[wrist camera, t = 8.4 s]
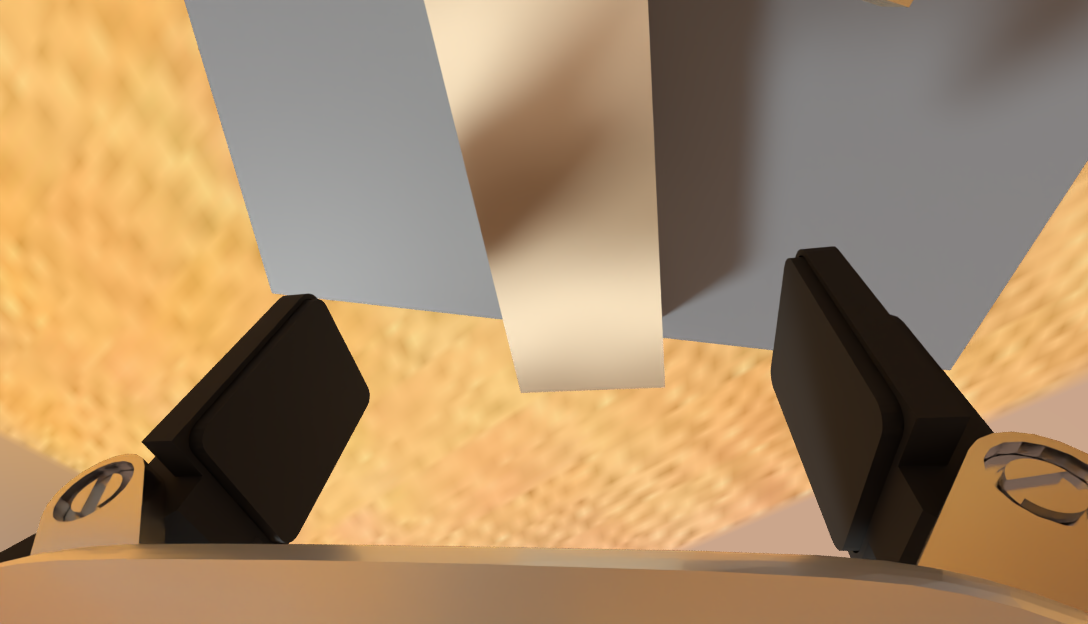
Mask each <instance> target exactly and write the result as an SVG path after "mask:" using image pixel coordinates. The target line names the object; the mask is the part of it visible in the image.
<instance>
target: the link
mask: <svg viewBox="0 0 1088 624" xmlns="http://www.w3.org/2000/svg"><path fill="white" fill-rule="evenodd" d="M424 3H425V7H426V11H427V15H428V19H429V23H430V27H431V31H432V35H433V39H434V43H435V47H436V51H437V56H438V60H439V64H440V68H441V72H442V76H443V80H444V84H445V88H446V92H447V96H448V100H449V104H450V108H451V112H452V116H453V120H454V124H455V128H456V132H457V136H458V140H459V144H460V148H461V152H462V157H463V161H464V165H465V169H466V173H467V177H468V181H469V185H470V189H471V193H472V197H473V201H474V205H475V209H476V213H477V217H478V221H479V225H480V229H481V233H482V237H483V241H484V245H485V249H486V253H487V258H488V262H489V266H490V270H491V274H492V278H493V282H494V286H495V290H496V294H497V298H498V302H499V306H500V310H501V314H502V318H503V322H504V326H505V330H506V334H507V338H508V342H509V346H510V350H511V354H512V358H513V363H514V367H515V371H516V375H517V379H518V383H519V387H520V391H521V393H528V392H555V391H581V390H608V389H635V388H661V387H665V375H664V352H663V330H662V307H661V285H660V262H659V240H658V217H657V194H656V172H655V149H654V127H653V104H652V82H651V59H650V36H649V14H648V0H424Z"/></svg>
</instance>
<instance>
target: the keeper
mask: <svg viewBox="0 0 1088 624" xmlns="http://www.w3.org/2000/svg"><path fill="white" fill-rule="evenodd" d="M863 1H866V2H869V3H872V4H875V5H878V6H883V7H910V5H911V3H912V2H913V0H863Z"/></svg>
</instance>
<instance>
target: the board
mask: <svg viewBox="0 0 1088 624" xmlns="http://www.w3.org/2000/svg"><path fill="white" fill-rule="evenodd" d="M184 1H185V4H186V8H187V11H188V14H189V18H190V21H191V24H192V28H193V31H194V34H195V38H196V41H197V44H198V48H199V51H200V54H201V58H202V61H203V64H204V68H205V71H206V74H207V78H208V81H209V84H210V88H211V91H212V94H213V98H214V101H215V104H216V108H217V111H218V114H219V118H220V121H221V124H222V128H223V131H224V134H225V138H226V141H227V144H228V148H229V151H230V154H231V158H232V161H233V164H234V168H235V171H236V174H237V178H238V181H239V184H240V188H241V191H242V194H243V198H244V201H245V204H246V208H247V211H248V214H249V218H250V221H251V224H252V228H253V231H254V234H255V238H256V241H257V244H258V248H259V251H260V254H261V258H262V261H263V264H264V268H265V271H266V274H267V278H268V281H269V284H270V288H271V291H272V293H275V294H283V295H297V294H308V293H310V294H313V295H314V296H316V297H317V298H319V299H327V300H336V301H345V302H354V303H363V304H371V305H380V306H389V307H398V308H407V309H415V310H424V311H433V312H442V313H450V314H459V315H468V316H477V317H486V318H494V319H503V318H502V314H501V310H500V306H499V302H498V298H497V294H496V290H495V286H494V282H493V278H492V274H491V270H490V266H489V262H488V258H487V253H486V249H485V245H484V241H483V237H482V233H481V229H480V225H479V221H478V217H477V213H476V209H475V205H474V201H473V197H472V193H471V189H470V185H469V181H468V177H467V173H466V169H465V165H464V161H463V157H462V152H461V148H460V144H459V140H458V136H457V132H456V128H455V124H454V120H453V116H452V112H451V108H450V104H449V100H448V96H447V92H446V88H445V84H444V80H443V76H442V72H441V68H440V64H439V60H438V56H437V51H436V47H435V43H434V39H433V35H432V31H431V27H430V23H429V19H428V15H427V11H426V7H425V3H424V0H184ZM648 14H649V36H650V59H651V82H652V104H653V127H654V149H655V172H656V194H657V217H658V240H659V262H660V285H661V307H662V330H663V338H670V339H679V340H688V341H697V342H706V343H714V344H723V345H732V346H741V347H750V348H758V349H767V350H773V348H774V341H775V333H776V326H777V318H778V310H779V303H780V295H781V287H782V280H783V272H784V265H785V262H786V260H787V259H788V258H795V256H796V254H797V251H798V250H800V249H808V248H819V247H830V246H835V247H836V248H838V249H839V251H840V252H841V253H842V254H843V256H844V257H845V258H846V260H847V261H848V262H849V263H850V265H851V266H852V267H853V268H854V270H855V271H856V272H857V273H858V275H859V276H860V277H861V278H862V280H863V281H864V282H865V284H866V285H867V286H868V287H869V289H870V290H871V291H872V292H873V294H874V295H875V296H876V297H877V299H878V300H879V301H880V302H881V304H882V305H883V306H884V307H885V309H886V310H887V311H888V313H889V314H890V315H894V316H897V317H899V318H900V319H901V320H902V321H903V322H904V323H905V324H906V325H907V327H908V328H909V329H910V330H911V332H912V333H913V334H914V335H915V336H916V338H917V339H918V340H919V341H920V343H921V344H922V345H923V346H924V348H925V349H926V350H927V351H928V352H929V354H930V355H931V356H932V357H933V359H934V360H935V361H936V362H937V364H938V365H939V366H940V367H941V368H942V369H943V370H951V368H952V367H953V365H954V364H955V362H956V361H957V359H958V358H959V356H960V354H961V353H962V351H963V350H964V348H965V347H966V345H967V344H968V342H969V341H970V339H971V338H972V336H973V335H974V333H975V332H976V330H977V329H978V327H979V325H980V324H981V322H982V321H983V319H984V318H985V316H986V315H987V313H988V312H989V310H990V309H991V307H992V306H993V304H994V303H995V301H996V300H997V298H998V296H999V295H1000V293H1001V292H1002V290H1003V289H1004V287H1005V286H1006V284H1007V283H1008V281H1009V280H1010V278H1011V277H1012V275H1013V274H1014V272H1015V271H1016V269H1017V267H1018V266H1019V264H1020V263H1021V261H1022V260H1023V258H1024V257H1025V255H1026V254H1027V252H1028V251H1029V249H1030V248H1031V246H1032V245H1033V243H1034V242H1035V240H1036V238H1037V237H1038V235H1039V234H1040V232H1041V231H1042V229H1043V228H1044V226H1045V225H1046V223H1047V222H1048V220H1049V219H1050V217H1051V216H1052V214H1053V213H1054V211H1055V209H1056V208H1057V206H1058V205H1059V203H1060V202H1061V200H1062V199H1063V197H1064V196H1065V194H1066V193H1067V191H1068V190H1069V188H1070V187H1071V185H1072V184H1073V182H1074V180H1075V179H1076V177H1077V176H1078V174H1079V173H1080V171H1081V170H1082V168H1083V167H1084V165H1085V164H1086V162H1087V161H1088V0H913V2H912V3H911V5H910V7H883V6H878V5H875V4H872V3H869V2H866V1H863V0H648Z"/></svg>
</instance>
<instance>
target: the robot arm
mask: <svg viewBox="0 0 1088 624" xmlns="http://www.w3.org/2000/svg"><path fill="white" fill-rule="evenodd" d="M771 380H772V385H773V388H774V391H775V393H776V396H777V398H778V401H779V404H780V406H781V409H782V411H783V414H784V416H785V419H786V422H787V424H788V427H789V429H790V432H791V435H792V437H793V440H794V442H795V445H796V448H797V450H798V453H799V455H800V458H801V461H802V463H803V466H804V468H805V471H806V474H807V476H808V479H809V481H810V484H811V486H812V489H813V492H814V494H815V497H816V499H817V502H818V505H819V507H820V510H821V512H822V515H823V518H824V520H825V523H826V525H827V528H828V531H829V533H830V535H831V538H832V540H833V543H834V545H835V546H836V548H837V549H838V550H839V551H848V552H849V555H850V557H851V558H845V557H832V556H820V555H795V554H769V553H766V554H765V553H739V552H712V551H680V550H629V549H579V548H528V547H465V546H396V545H314V544H289V542H292V541H293V540H294V539H295V538H296V537H297V535H298V534H299V532H300V530H301V528H302V527H303V525H304V523H305V521H306V519H307V517H308V515H309V513H310V512H311V510H312V508H313V506H314V504H315V502H316V500H317V499H318V497H319V495H320V493H321V491H322V489H323V487H324V486H325V484H326V482H327V480H328V478H329V476H330V474H331V473H332V471H333V469H334V467H335V465H336V463H337V461H338V459H339V458H340V456H341V454H342V452H343V450H344V448H345V446H346V445H347V443H348V441H349V439H350V437H351V435H352V433H353V432H354V430H355V428H356V426H357V424H358V422H359V420H360V419H361V417H362V415H363V413H364V411H365V409H366V407H367V405H368V403H369V399H370V393H369V389H368V387H367V385H366V383H365V381H364V379H363V377H362V375H361V373H360V371H359V369H358V367H357V365H356V363H355V361H354V359H353V357H352V355H351V353H350V351H349V349H348V347H347V345H346V343H345V342H344V340H343V338H342V336H341V334H340V332H339V330H338V328H337V326H336V324H335V322H334V320H333V318H332V316H331V314H330V312H329V310H328V308H327V306H326V305H325V303H324V302H323V301H322V300H319V299H317V297H316V296H314V295H313V294H310V293H308V294H297V295H287V296H283V297H281V298H280V299H279V300H278V301H277V302H276V303H275V304H274V305H273V306H272V307H271V308H270V309H269V310H268V311H267V312H266V313H265V314H264V315H263V316H262V317H261V318H260V319H259V321H258V322H257V323H256V324H255V325H254V326H253V327H252V328H251V329H250V330H249V331H248V332H247V333H246V334H245V335H244V336H243V337H242V338H241V339H240V340H239V341H238V342H237V343H236V344H235V345H234V346H233V347H232V349H231V350H230V351H229V352H228V353H227V354H226V355H225V356H224V357H223V358H222V359H221V360H220V361H219V362H218V363H217V364H216V365H215V366H214V367H213V368H212V369H211V370H210V371H209V372H208V373H207V374H206V375H205V377H204V378H203V379H202V380H201V381H200V382H199V383H198V384H197V385H196V386H195V387H194V388H193V389H192V390H191V391H190V392H189V393H188V394H187V395H186V396H185V397H184V398H183V399H182V400H181V401H180V402H179V403H178V405H177V406H176V407H175V408H174V409H173V410H172V411H171V412H170V413H169V414H168V415H167V416H166V417H165V418H164V419H163V420H162V421H161V422H160V423H159V424H158V425H157V426H156V427H155V428H154V429H153V430H152V431H151V433H150V434H149V435H148V436H147V437H146V438H145V439H144V440H143V441H142V443H143V444H144V445H145V446H146V447H147V448H148V449H149V450H150V451H151V452H152V453H153V454H154V455H155V458H154V459H153V460H152V461H151V462H150V463H149V464H148V463H147V462H146V461H145V460H144V459H143V458H141V457H140V456H138V455H136V454H124V455H119V456H115V457H112V458H109V459H107V460H104V461H102V462H99V463H98V464H96V465H94V466H92V467H90V468H89V469H87V470H85V471H83V472H82V473H81V474H79V475H78V476H76V477H75V478H74V479H72V480H71V481H69V482H68V483H67V484H66V485H65V486H64V487H63V488H62V489H60V490H59V491H58V492H57V493H56V494H55V496H54V497H53V498H52V499H51V500H50V502H49V503H48V504H47V506H46V508H45V510H44V512H43V514H42V516H41V519H40V523H39V526H38V529H37V533H36V534H34V535H32V536H30V537H28V538H26V539H24V540H23V541H21V542H19V543H17V544H15V545H13V546H12V547H10V548H8V549H6V550H4V551H2V552H0V624H1088V454H1087V453H1085V452H1083V451H1080V450H1078V449H1076V448H1073V447H1072V446H1069V445H1067V444H1065V443H1062V442H1060V441H1057V440H1053V439H1049V438H1046V437H1042V436H1038V435H1035V434H1027V433H1019V432H1002V433H994V432H993V431H992V430H991V429H990V428H989V426H988V425H987V424H986V423H985V421H984V420H983V419H982V418H981V416H980V415H979V414H978V413H977V411H976V410H975V409H974V408H973V407H972V405H971V404H970V403H969V402H968V400H967V399H966V398H965V397H964V395H963V394H962V393H961V392H960V391H959V389H958V388H957V387H956V386H955V384H954V383H953V382H952V381H951V380H950V378H949V377H948V376H947V375H946V373H945V372H944V371H943V370H942V368H941V367H940V366H939V365H938V364H937V362H936V361H935V360H934V359H933V357H932V356H931V355H930V354H929V352H928V351H927V350H926V349H925V348H924V346H923V345H922V344H921V343H920V341H919V340H918V339H917V338H916V336H915V335H914V334H913V333H912V332H911V330H910V329H909V328H908V327H907V325H906V324H905V323H904V322H903V321H902V320H901V319H900V318H899V317H897V316H894V315H890V314H889V313H888V311H887V310H886V309H885V307H884V306H883V305H882V304H881V302H880V301H879V300H878V299H877V297H876V296H875V295H874V294H873V292H872V291H871V290H870V289H869V287H868V286H867V285H866V284H865V282H864V281H863V280H862V278H861V277H860V276H859V275H858V273H857V272H856V271H855V270H854V268H853V267H852V266H851V265H850V263H849V262H848V261H847V260H846V258H845V257H844V256H843V254H842V253H841V252H840V251H839V249H838V248H836V247H835V246H830V247H819V248H808V249H800V250H798V251H797V254H796V256H795V258H788V259H787V260H786V262H785V265H784V272H783V280H782V287H781V295H780V303H779V310H778V318H777V326H776V333H775V341H774V348H773V356H772V364H771Z"/></svg>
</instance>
